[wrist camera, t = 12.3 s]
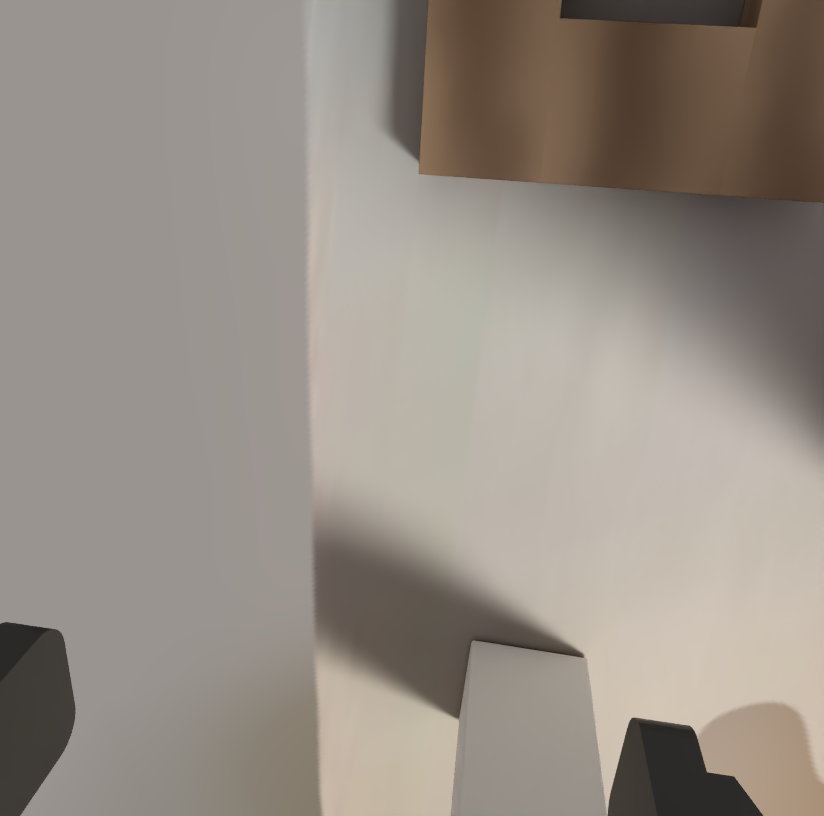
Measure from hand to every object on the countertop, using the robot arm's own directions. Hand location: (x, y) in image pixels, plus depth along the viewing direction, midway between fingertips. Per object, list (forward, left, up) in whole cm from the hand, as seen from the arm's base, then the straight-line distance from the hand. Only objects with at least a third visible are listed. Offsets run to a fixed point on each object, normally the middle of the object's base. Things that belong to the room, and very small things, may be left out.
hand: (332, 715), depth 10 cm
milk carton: (-6, +26, -28) cm, 39 cm away
